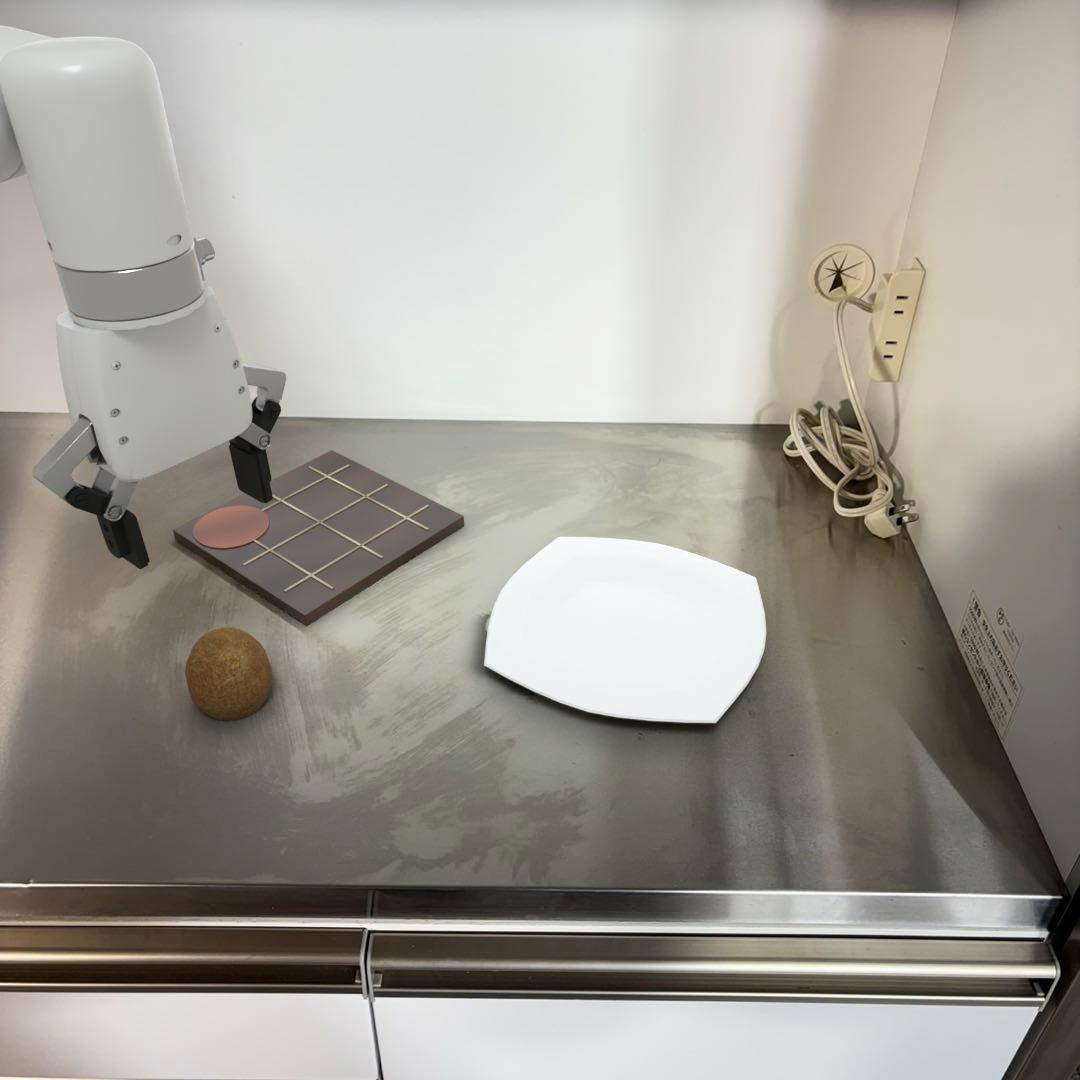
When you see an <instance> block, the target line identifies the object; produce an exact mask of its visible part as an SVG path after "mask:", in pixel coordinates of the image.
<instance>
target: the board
mask: <svg viewBox="0 0 1080 1080" xmlns="http://www.w3.org/2000/svg"><path fill="white" fill-rule="evenodd" d="M270 486H271V491H272V496H273V500H271V501H270V502H268V503H264V502H263V503H261V502H260V501H258V500H256V499H254V498H252V497H251V496H249V495H247V494H245V493H244V494H241V495H239V496H238V497H236V498H234V499H232V500H230V501H228V502H226V503H223V504H221V505H220V506H218V507H216V508H213V509H212V510H210V511H207V512H206V513H204V514H202V515H199V516H198V517H195V518H194V519H192V520H190V521H188V522H185V523H184V524H182V525H180V526H178V527H176V528H174V529H172V533H173V537H174V540H175V541H177V542H178V543H180V544H181V545H183V547H185V548H187V549H189V550H190V551H192V552H193V553H194V554H196V555H198V556H200V558H203V559H204V560H205V561H207V562H209V563H210V564H211V565H213V566H214V567H216V568H217V569H219V570H220V571H221V572H223V573H225V574H226V575H228V576H230V577H231V578H233V579H234V580H236V581H237V582H239V583H240V584H242V585H243V586H245V587H247V588H248V589H250V590H251V591H252V592H254V593H255V594H257V595H259V596H260V597H262V598H263V599H265V600H266V601H268V602H269V603H271V604H272V605H273V606H275V607H277V608H278V609H280V610H282V611H283V612H285V613H286V614H287V615H289V616H290V617H292V618H294V619H295V620H297V621H298V622H300V623H301V624H303V625H304V626H306V627H308V626H309V625H310V624H312V623H314V622H316V621H317V620H318V619H320V618H322V617H323V616H325V615H326V614H328V613H329V612H331V611H332V610H334V609H336V608H337V607H339V606H341V605H342V604H344V603H345V602H346V601H349V600H350V599H351V598H353V597H355V596H356V595H358V594H360V593H361V592H363V591H365V590H366V589H368V588H369V587H370V586H372V585H374V584H375V583H377V582H378V581H380V580H382V579H383V578H385V577H387V576H388V575H389V574H391V573H392V572H394V571H395V570H397V569H398V568H399V569H400V567H403V565H405V564H407V563H408V562H410V561H412V560H413V559H414V558H416V557H418V556H419V555H421V554H423V553H424V552H425V551H427V550H428V549H430V548H431V547H433V546H435V545H436V544H438V543H439V542H441V541H443V540H445V539H446V538H448V537H449V536H451V535H452V534H454V533H455V532H457V531H459V530H460V529H461V528H463V527H465V516H464V515H462V514H460V513H459V512H457V511H454V510H453V509H451V508H449V507H446V506H445V505H442V504H440V503H439V502H436V501H435V500H432V499H430V498H429V497H427V496H424V495H422V494H421V493H419V492H417V491H415V490H412V489H410V488H408V487H407V486H404V485H403V484H401V483H399V482H396V481H394V480H393V479H390V478H389V477H387V476H385V475H383V474H381V473H379V472H377V471H375V470H372V469H370V468H369V467H367V466H366V465H365V466H364V465H363V464H361V463H359V462H357V461H354V460H353V459H350V458H349V457H346V456H345V455H343V454H340V453H338V452H337V451H335V450H332V449H330V450H329V451H327V452H325V453H323V454H321V455H318V456H317V457H315V458H313V459H311V460H309V461H306V462H305V463H304V464H301V465H299V466H297V467H294V468H293V469H292V470H291V469H290V470H289V471H287V472H285V473H284V474H282V475H279V476H277V477H276V478H274V479H271V482H270Z"/></svg>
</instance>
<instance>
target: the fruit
mask: <svg viewBox="0 0 1080 1080" xmlns="http://www.w3.org/2000/svg"><path fill="white" fill-rule="evenodd" d="M184 673H185V679H186V684H187V689H188V692H189V695H190V697H191V700H192V701H193V702H194V704H195V705H196V706H197V707H198V709H200V710H201V711H202V712H203V713H204V714H206V715H207V716H208V717H210V718H212V719H215V720H219V721H224V722H225V721H238V720H240V719H244V718H246V717H250V715H252V714H254V713H256V711H258V710H259V709H260V708H261V707H263V705H264V703H265V702H267V700H268V699H267V698H268V697H269V693H270V691H271V686H272V681H273V670H272V665H271V663H270V659H269V656H268V654H267V651H266V649H265V647H264V646H263V644H262V643H261V642H260V641H259V640H258V639H256V638H255V637H254V636H253V635H251V634H250V633H249V632H248V631H245V630H243V629H240V628H236V627H232V626H231V627H228V626H227V627H220V628H216V629H212V630H210V631H208V632H207V633H204V634H203V635H202V636H201V637H199V639H198V640H197V641H196V642H195V644H194V645H193V646H192V647H191V650H190V653H189V655H188V658H187V661H186V663H185V671H184Z"/></svg>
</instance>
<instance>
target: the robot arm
mask: <svg viewBox="0 0 1080 1080" xmlns="http://www.w3.org/2000/svg"><path fill="white" fill-rule="evenodd" d="M150 57H151V56H150V55H149V54H148V53H147V52H146V51H145V50H144V48H142V47H141V46H140V45H138V44H136V43H135V42H133V41H130V40H128V39H122V38H120V37H112V36H111V37H110V36H94V35H93V36H89V35H88V36H67V37H53V36H50V35H49V36H48V35H44V34H41V33H37V32H32V31H29V30H25V29H21V28H17V27H13V26H8V25H6V26H5V25H1V24H0V183H3V182H7V181H10V180H13V179H17V178H19V177H22V176H25V175H26V176H27V180H28V183H29V187H30V189H31V193H32V197H33V198H34V202H35V205H36V209H37V212H38V215H39V218H40V222H41V226H42V229H43V232H44V235H45V238H46V241H47V245H48V249H49V252H50V255H51V257H52V260H53V264H54V267H55V271H56V275H57V277H58V280H59V284H60V287H61V290H62V293H63V296H64V299H65V304H66V306H67V309H68V310H67V311H64V312H61V313H60V314H58V315H57V316H56V317H55V331H56V333H55V334H56V346H57V347H56V348H57V354H58V361H59V368H60V375H61V381H62V386H63V391H64V396H65V401H66V404H67V409H68V414H69V417H70V422H71V425H72V426H71V427H70V428H69V429H68V430H67V432H65V433H64V434H63V436H62V437H61V438H60V439H59V440H58V441H57V442H56V443H55V444H54V445H53V446H52V447H51V448H50V449H49V450H48V451H47V453H45V455H44V456H43V457H42V458H41V459H40V460H39V461H37V463H36V464H35V465H34V466H33V468H32V471H31V475H32V477H33V478H34V479H35V480H37V482H39V483H41V484H42V485H43V486H44V487H45V488H47V489H48V490H49V491H51V492H52V493H54V494H55V496H57V497H58V498H59V499H61V500H62V501H64V502H65V503H67V504H68V505H70V506H71V507H72V508H74V509H76V510H80V511H82V512H85V513H90V514H91V515H92V514H93V515H95V516H96V519H97V521H98V524H99V527H100V530H101V533H102V536H103V540H104V543H105V545H106V548H107V549H108V551H109V553H111V555H112V556H113V557H115V558H116V559H119V560H120V559H124V560H125V561H126V562H129V563H130V564H131V565H133V566H134V567H135V568H137V569H139V570H142V569H144V568H146V567H148V566H149V563H150V562H151V560H150V557H149V554H148V550H147V547H146V544H145V540H144V537H143V534H142V531H141V528H140V524H139V521H138V518H137V516H136V514H135V513H133V512H132V511H131V510H128V506H129V504H130V501H131V499H132V496H133V494H134V492H135V489H136V487H137V485H138V482H140V481H144V480H146V479H149V478H151V477H154V476H156V475H158V474H160V473H162V472H165V471H167V470H169V469H172V468H173V467H176V466H177V465H180V464H183V463H184V462H187V461H189V460H191V459H193V458H195V457H197V456H199V455H202V454H204V453H206V452H208V451H210V450H212V449H215V448H217V447H219V446H221V445H222V444H225V443H227V442H229V445H228V449H229V453H230V454H229V455H230V458H231V462H232V467H233V471H234V477H235V480H236V485H237V488H238V490H239V491H240V492H242V493H244V494H247V495H249V496H251V497H252V498H254V499H256V500H258V501H260V502H261V503H263V502H264V503H268V502H270V501H271V500H273V496H272V491H271V486H270V482H271V480H272V473H271V469H270V463H269V458H268V453H267V449H268V448H270V447H271V445H272V442H273V436H272V434H271V433H272V431H273V429H274V427H275V426H276V423H277V421H278V419H279V417H280V415H281V413H282V406H281V405H280V402H281V401H282V399H283V397H284V396H283V395H284V391H285V387H286V383H287V374H286V373H285V372H283V371H281V370H278V369H277V368H275V367H272V366H267V365H260V364H259V365H258V364H254V363H248V362H247V363H246V362H242V358H241V355H240V352H239V349H238V345H237V342H236V339H235V336H234V335H233V331H232V329H231V327H230V324H229V321H228V319H227V317H226V314H225V312H224V310H223V308H222V305H221V302H220V301H219V299H218V296H217V295H216V293H215V291H214V289H213V287H211V286H210V285H209V284H206V283H204V282H205V275H204V271H203V266H204V265H205V264H206V263H207V262H210V261H213V260H214V259H215V256H216V251H215V247H214V245H213V243H212V242H211V241H210V239H208V238H207V237H202V238H198V239H196V237H194V235H193V230H192V225H191V221H190V217H189V212H188V208H187V207H188V206H187V203H186V198H185V193H184V189H183V183H182V180H181V175H180V170H179V165H178V162H177V157H176V154H175V153H176V152H175V149H174V148H175V147H174V143H173V137H172V133H171V130H170V125H169V120H168V117H167V111H166V107H165V103H164V97H163V93H162V89H161V85H160V81H159V76H158V73H157V69H156V67H155V65H154V62H153V60H152V59H151V58H150ZM249 386H252V387H257V390H256V395H257V396H256V397H255V398H253V401H252V399H251V398H252V397H251V393H250V388H249ZM83 460H85V461H87V462H88V463H89V464H95V466H94V468H93V471H92V473H91V475H90V478H89V481H88V482H87V485H84V484H81V483H78V482H76V481H75V480H74V478H73V472H74V470H76V468H77V467H78V466H79V465H80V463H82V462H83Z"/></svg>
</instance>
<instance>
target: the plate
mask: <svg viewBox="0 0 1080 1080" xmlns="http://www.w3.org/2000/svg"><path fill="white" fill-rule="evenodd" d="M766 623H767V622H766V613H765V608H764V603H763V598H762V594H761V591H760V587H759V583H758V580H757V577H756V576H753V575H751V574H749V573H746V572H744V571H741V570H740V569H737V568H735V567H733V566H729V565H727V564H724V563H721V562H719V561H716V560H715V559H712V558H709V557H706V556H702V555H700V554H697V553H694V552H690V551H688V550H684V549H681V548H678V547H675V546H670V545H667V544H663V543H659V542H652V541H651V542H650V541H644V540H636V539H625V538H614V537H612V538H611V537H595V536H594V537H593V536H592V537H591V536H558V537H556V538H555V539H553V540H552V541H551V542H549V543H548V544H547V545H545V547H543V548H541V550H539V551H538V552H536V553H535V554H534V555H533V556H532V557H531V558H529V559H528V560H527V561H525V562H524V563H523V564H522V565H521V566H520V567H519V569H518V570H516V571H515V572H514V574H512V575H511V576H510V578H509V579H508V581H507V582H506V583H505V584H504V586H503V587H502V589H501V590H500V591H499V594H498V596H497V597H496V600H495V602H494V604H493V606H492V610H491V614H490V618H489V621H488V626H487V634H486V641H485V650H484V661H483V666H484V667H485V668H486V669H488V670H490V671H492V672H493V673H496V675H499V676H501V677H503V678H504V679H506V680H508V681H510V682H511V683H514V684H516V685H518V686H520V687H522V688H524V689H526V690H528V691H530V692H532V693H533V694H536V695H539V696H541V697H543V698H545V699H548V700H551V701H554V702H555V703H557V704H560V705H563V706H565V707H569V708H572V709H575V710H577V711H580V712H583V713H586V714H591V715H597V716H602V717H608V718H612V719H619V720H620V719H621V720H629V721H637V722H639V721H640V722H648V723H663V724H664V723H665V724H683V725H684V724H685V725H716V724H717V722H718V721H719V720H720V719H721V718H722V717H723V715H724V714H725V713H726V712H727V710H728V709H729V708H730V707H731V706H732V705H733V704H734V702H735V701H736V700H737V698H738V697H739V696H740V695H741V693H742V692H743V691H744V690H745V688H746V687H747V686H748V685H749V683H750V682H751V680H752V677H753V676H754V674H755V673H756V671H757V669H758V668H759V666H760V664H761V660H762V657H763V656H764V652H765V648H766V641H767V640H766V639H767V624H766Z"/></svg>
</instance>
